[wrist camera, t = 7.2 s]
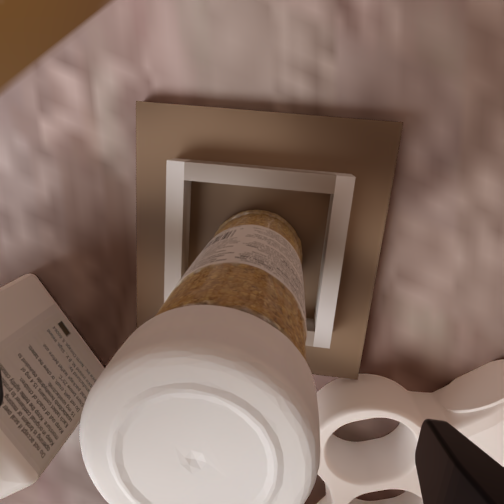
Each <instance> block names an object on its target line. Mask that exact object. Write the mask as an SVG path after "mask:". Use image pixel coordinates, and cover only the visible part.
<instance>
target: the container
mask: <svg viewBox="0 0 504 504" xmlns="http://www.w3.org/2000/svg"><path fill="white" fill-rule="evenodd" d="M0 368H1V376H2V384H3V393H4V397H3V402H2V404H1V406H0V499H2V498H4V497H7V496H9V495H11V494H13V493H15V492H17V491H20V490H22V489H24V488H26V487H28V486H30V485H32V484H33V483H34V482H36V481H37V480H38V478H39V477H40V476H41V474H42V473H43V472H44V470H45V469H46V468H47V466H48V465H49V463H50V462H51V461H52V459H53V458H54V457H55V455H56V454H57V453H58V451H59V450H60V449H61V447H62V446H63V444H64V443H65V442H66V440H67V439H68V438H69V436H70V435H71V434H72V432H73V431H74V430H75V428H76V427H77V426H78V424H79V423H80V420H81V414H82V411H83V408H84V404H85V401H86V398H87V396H88V394H89V392H90V390H91V388H92V386H93V385H94V383H95V382H96V381H97V379H98V378H99V376H100V375H101V373H102V372H103V370H104V369H105V368H104V367H103V365H102V364H101V363H100V361H99V360H98V359H97V357H96V356H95V355H94V353H93V352H92V351H91V349H90V348H89V346H88V345H87V344H86V342H85V341H84V340H83V338H82V337H81V336H80V334H79V333H78V332H77V330H76V329H75V328H74V326H73V325H72V324H71V322H70V321H69V320H68V318H67V317H66V315H65V314H64V313H63V311H62V310H61V309H60V307H59V306H58V305H57V303H56V302H55V301H54V299H53V298H52V297H51V295H50V294H49V293H48V291H47V290H46V288H45V287H44V286H43V284H42V283H41V282H40V280H39V279H38V278H37V276H35V275H34V274H32V273H29V274H25V275H23V276H21V277H19V278H17V279H15V280H14V281H12V282H10V283H8V284H6V285H4V286H2V287H0Z"/></svg>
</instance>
